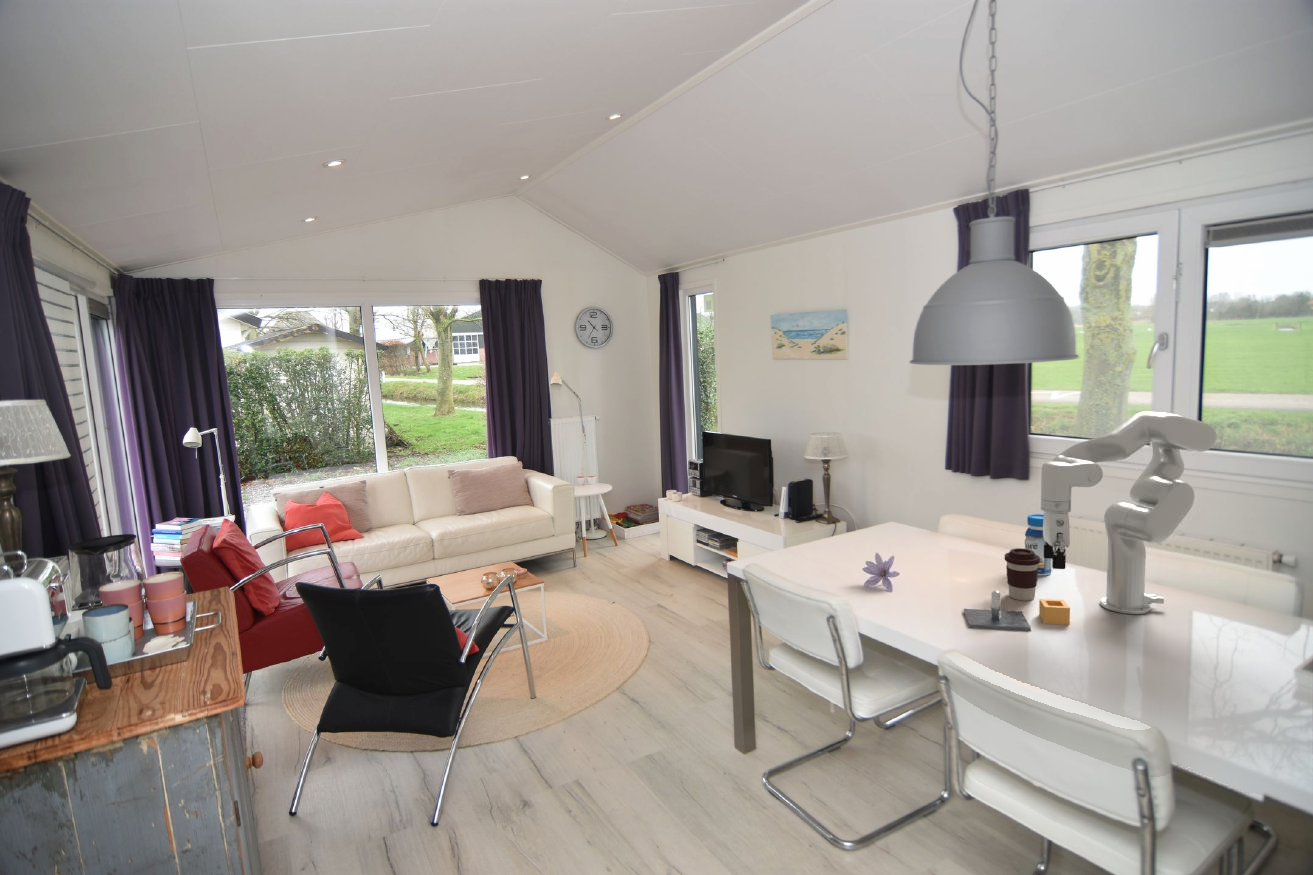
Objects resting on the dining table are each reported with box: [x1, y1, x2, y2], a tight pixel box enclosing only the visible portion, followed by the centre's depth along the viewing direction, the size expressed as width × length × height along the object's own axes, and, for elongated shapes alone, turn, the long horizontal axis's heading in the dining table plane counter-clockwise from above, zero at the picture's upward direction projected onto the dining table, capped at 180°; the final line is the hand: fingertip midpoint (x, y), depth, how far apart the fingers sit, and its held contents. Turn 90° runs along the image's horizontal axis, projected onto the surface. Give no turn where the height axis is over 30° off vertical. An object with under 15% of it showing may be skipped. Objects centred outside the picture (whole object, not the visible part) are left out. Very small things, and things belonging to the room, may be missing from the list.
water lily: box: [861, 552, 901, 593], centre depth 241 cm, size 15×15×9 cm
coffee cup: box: [1004, 547, 1040, 602], centre depth 222 cm, size 10×10×15 cm
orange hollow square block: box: [1038, 598, 1071, 626], centre depth 205 cm, size 6×6×5 cm
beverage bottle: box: [1024, 513, 1052, 577], centre depth 243 cm, size 8×8×20 cm
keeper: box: [963, 590, 1032, 632], centre depth 206 cm, size 16×12×9 cm
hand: (1054, 563), depth 203 cm, fingers open, 9 cm apart
